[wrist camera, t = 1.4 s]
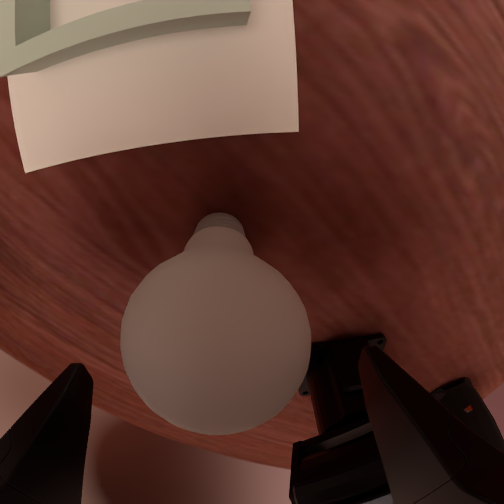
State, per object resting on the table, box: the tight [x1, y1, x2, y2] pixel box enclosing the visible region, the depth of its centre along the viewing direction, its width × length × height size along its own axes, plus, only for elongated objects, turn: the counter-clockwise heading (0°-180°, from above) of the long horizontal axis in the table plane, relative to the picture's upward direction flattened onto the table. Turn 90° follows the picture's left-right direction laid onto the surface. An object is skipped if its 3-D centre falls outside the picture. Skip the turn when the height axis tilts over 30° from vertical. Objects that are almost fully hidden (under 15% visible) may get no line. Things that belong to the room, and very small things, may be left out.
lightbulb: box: [120, 212, 311, 435], centre depth 12 cm, size 6×6×11 cm
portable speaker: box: [431, 378, 504, 453], centre depth 22 cm, size 9×9×20 cm
